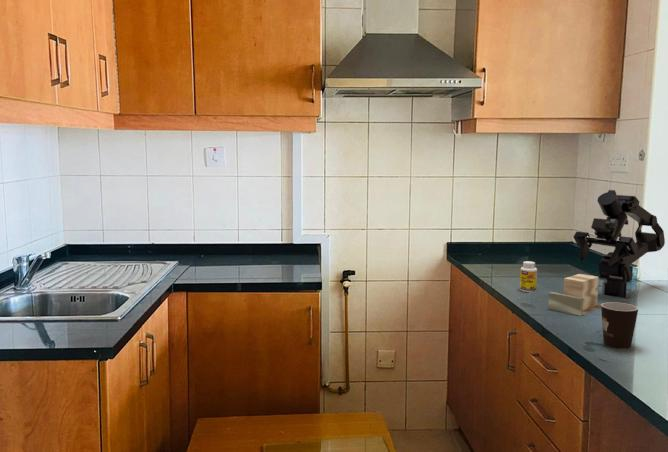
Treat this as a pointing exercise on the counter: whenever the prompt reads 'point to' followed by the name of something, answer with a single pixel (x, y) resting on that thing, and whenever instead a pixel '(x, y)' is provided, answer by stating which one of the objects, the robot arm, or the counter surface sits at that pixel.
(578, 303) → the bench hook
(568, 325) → the counter surface
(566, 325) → the counter surface
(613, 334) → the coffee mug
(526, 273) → the supplement bottle
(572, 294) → the block
